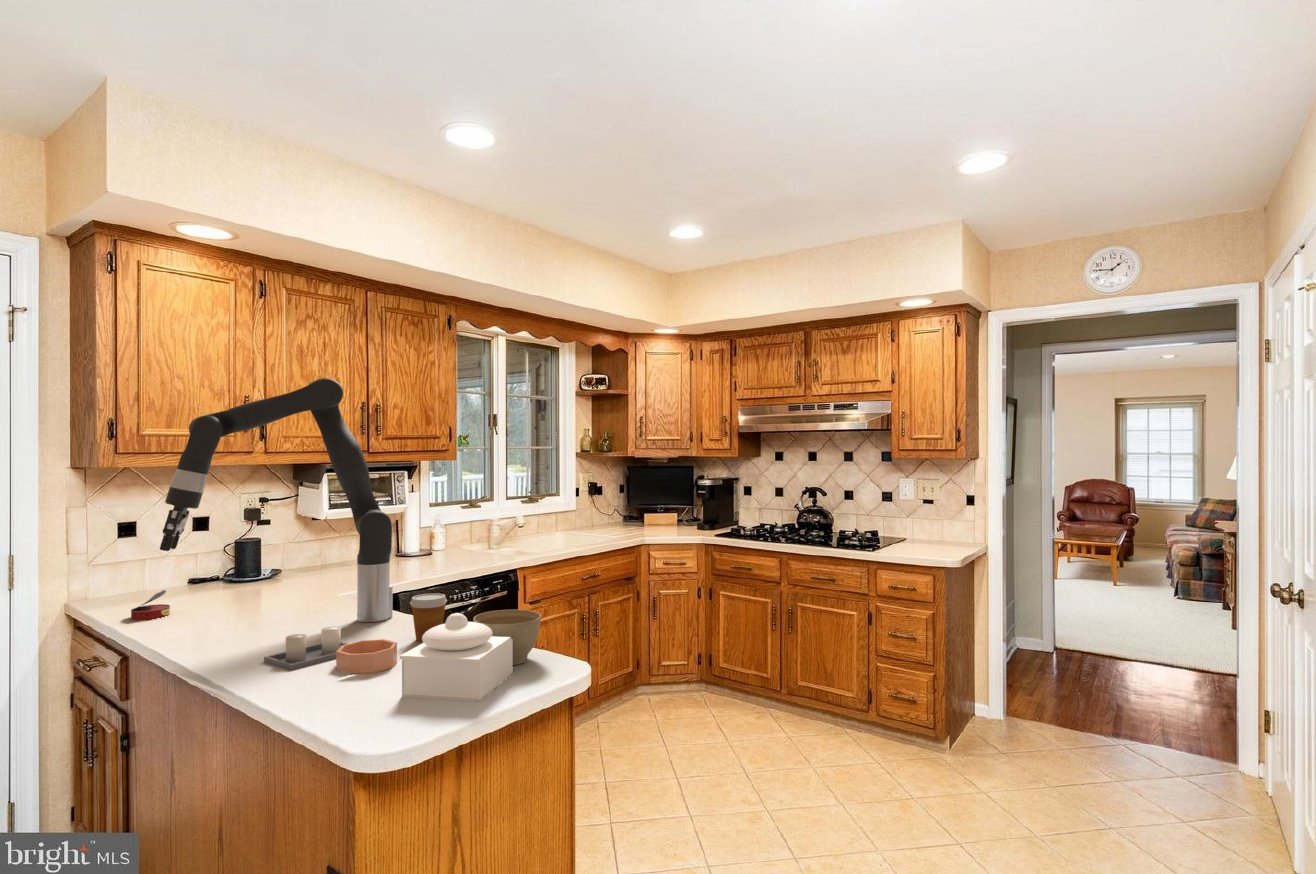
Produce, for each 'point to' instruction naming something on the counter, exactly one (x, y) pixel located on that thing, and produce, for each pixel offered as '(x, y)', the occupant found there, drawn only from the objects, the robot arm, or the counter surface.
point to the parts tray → (311, 658)
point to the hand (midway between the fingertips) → (167, 549)
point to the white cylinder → (330, 639)
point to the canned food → (150, 610)
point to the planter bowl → (514, 629)
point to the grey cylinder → (295, 648)
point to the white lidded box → (457, 662)
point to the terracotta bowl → (367, 656)
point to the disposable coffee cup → (427, 612)
